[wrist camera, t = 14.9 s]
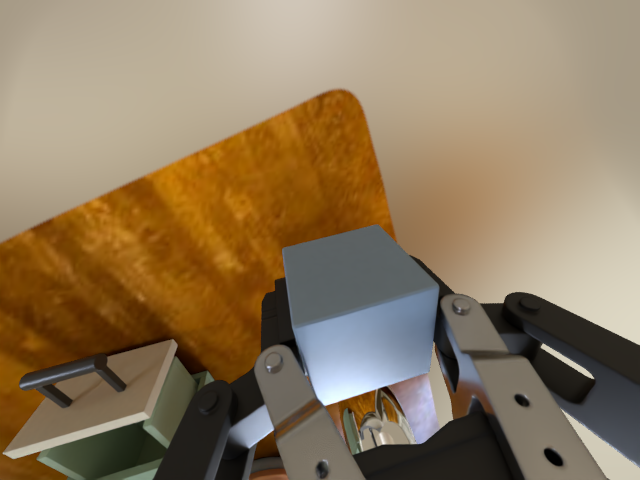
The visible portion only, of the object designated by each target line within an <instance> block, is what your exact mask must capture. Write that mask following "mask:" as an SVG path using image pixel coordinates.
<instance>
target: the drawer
mask: <svg viewBox="0 0 640 480" xmlns="http://www.w3.org/2000/svg"><path fill="white" fill-rule="evenodd" d="M177 346H178V345H177V343H176V342H175V341H174V339H171V340H168V341H164V342H160V343H157V344H153V345H149V346H145V347H142V348H138V349H134V350H131V351H127V352H123V353H120V354H116V355H112V356H109V357H107V356H106V355H105V354H103V353H100V354H97V355H93V356H89V357H86V358H82V359H78V360H74V361H71V362H67V363H63V364H60V365H56V366H52V367H49V368H45V369H41V370H37V371H34V372H30V373H27V374H25V375H24V376H23V377H22V378H21V380H20V383H19V386H20V388H21V389H22V390H25V391H27V390H31V389H36V390H38V391H39V392H40V393H42V394H43V395H45V396H46V398H45V399H44V401H43V402H42V403H41V404H40V406H39V407H38V408H37V410H36V411H35V412H34V413H33V415H32V416H31V417H30V419H29V420H28V421H27V422H26V424H25V425H24V426H23V428H22V429H21V430H20V432H19V433H18V434H17V435H16V437H15V438H14V439H13V441H12V442H11V443H10V444H9V446H8V447H7V448H6V450H5V451H4V452H3V454H5V455H7V456H9V457H11V458H13V459H15V458H18V457H22V456H25V455H29V454H32V453H35V452H39V451H42V452H41V453H40V455H39V456H38V458H37V460H38V461H40V462H42V463H44V464H46V465H48V466H50V467H52V468H54V469H56V470H58V471H59V472H61V473H63V474H65V475H67V476H69V477H71V478H73V479H75V480H94V479H97V478H101V477H104V476H107V475H110V474H113V473H117V472H120V471H123V470H126V469H129V468H132V467H136V466H139V465H142V464H145V463H148V462H151V461H155V460H158V459H161V458H163V457H164V455H165V453H166V451H167V449H168V447H169V445H170V442H171V440H172V438H173V436H174V434H175V432H176V430H177V428H178V426H179V424H180V422H181V420H182V418H183V415H184V413H185V411H186V409H187V407H188V405H189V403H190V401H191V399H192V398H193V397H194V395H195V394H196V393H197V390H198V384H197V383H196V382H195V380H194V379H193V378H192V376H191V375H190V374H189V372H188V371H187V370H186V369H185V367H184V366H183V365H182V363H181V362H180V361H179V359H178V358H177V357H176V356H175V357H174V354H175V352H176V349H177ZM56 382H57V384H56V385H55V386H54V385H52V384H53V383H56Z"/></svg>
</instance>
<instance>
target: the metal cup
mask: <svg viewBox="0 0 640 480" xmlns="http://www.w3.org/2000/svg"><path fill="white" fill-rule="evenodd" d="M338 404H339V412H340V419H341V424H342V429H343V433H344V437H345V441H346V445H347V447H348V449H349V451H350V452H351V454H352V455H354V454H357V453H360V452H363V451H366V450H369V449H371V448H374V447H377V446H380V445H383V444H417V443H416V440H415V437H414V435H413V432H412V430H411V427H410V424H409V422H408V420H407V417H406V415H405V413H404V410H403V408H402V406H401V404H400V402H399V400H398V398H397V397H396V395H395V393H394V391H393V390H392V388H391V386H390V385H387V386H384V387H381V388H378V389H375V390H372V391H369V392H366V393H363V394H359V395H356V396H353V397H350V398H347V399H344V400H341V401H338Z"/></svg>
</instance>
